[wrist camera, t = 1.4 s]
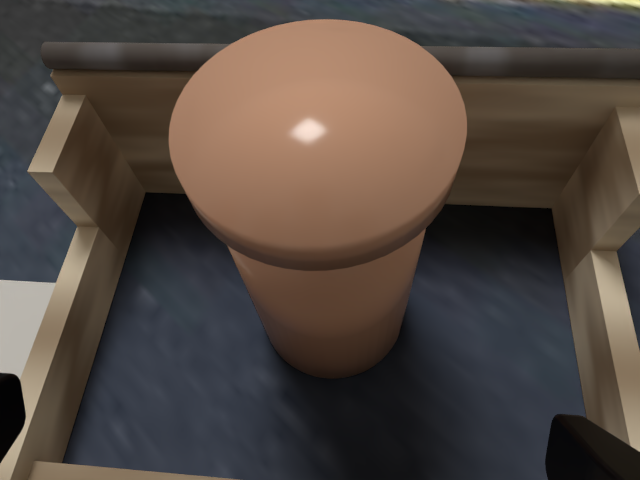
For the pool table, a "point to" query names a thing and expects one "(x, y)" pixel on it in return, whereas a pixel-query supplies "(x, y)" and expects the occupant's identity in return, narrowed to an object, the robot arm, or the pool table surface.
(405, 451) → the pool table surface
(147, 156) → the cold frame
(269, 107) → the terracotta pot
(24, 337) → the paving tile
